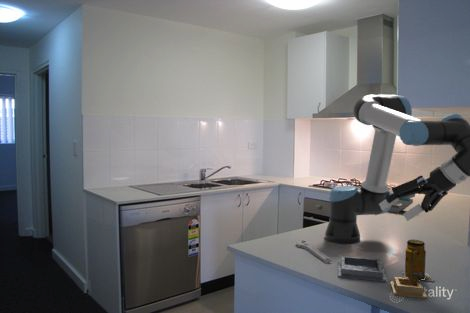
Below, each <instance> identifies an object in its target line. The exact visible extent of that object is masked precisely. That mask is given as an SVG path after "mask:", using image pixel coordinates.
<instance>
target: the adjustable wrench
mask: <svg viewBox="0 0 470 313" xmlns="http://www.w3.org/2000/svg"><path fill="white" fill-rule="evenodd" d="M296 247H297V248H303V249H306V250H308V251H309V252H310V253H311V254H312V255H314V256H316V257H317V258H318V257H319V258H318V259H320V260H321V259H322V260H323V261H322V260H321V261H322V262H324V261H325V262H327V263H326V264H331V263H330V262H332V261H333V259H332V258H330V257H329V256H327V255H326V254H325V253H323V252H322V251H320V250H319V249H317V248H316V247H314V246H313V245H312V242H311V241H310V240H307V239H302V240H301V242H300V241H298V240H297V241H296ZM325 262H324V263H325Z"/></svg>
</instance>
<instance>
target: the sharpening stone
mask: <svg viewBox="0 0 470 313" xmlns="http://www.w3.org/2000/svg"><path fill="white" fill-rule="evenodd" d="M389 191H390V192H391V195H392V194H393V191H392V190H389ZM413 198H416V194H413V195H410V196H406V197H402V198H399V201H397V202H396V203H397V204H393V205H392V206H391V207H390V209H389V210H388V211H387V212H392V213H400V212H403V211H405V209H407V208H408V207H410V206H411V205H412V204H413V203H414V199H413ZM399 204H400V205H399Z"/></svg>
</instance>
